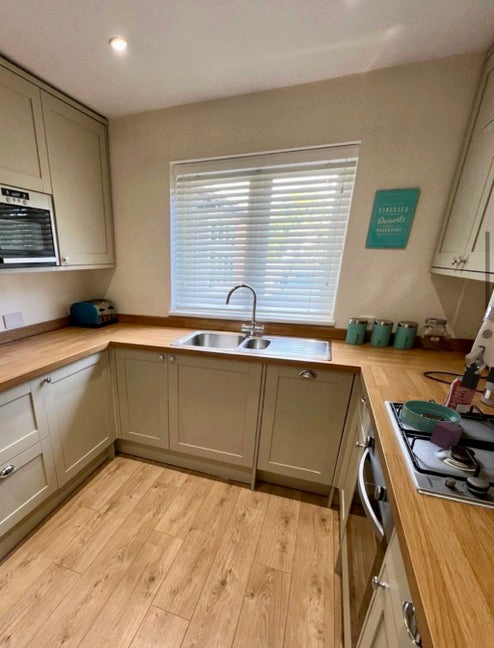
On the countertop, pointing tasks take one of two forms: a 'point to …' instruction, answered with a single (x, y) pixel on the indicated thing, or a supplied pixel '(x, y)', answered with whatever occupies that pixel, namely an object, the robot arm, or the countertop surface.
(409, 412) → the bowl
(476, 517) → the countertop surface
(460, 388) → the soda can
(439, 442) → the snack carton
